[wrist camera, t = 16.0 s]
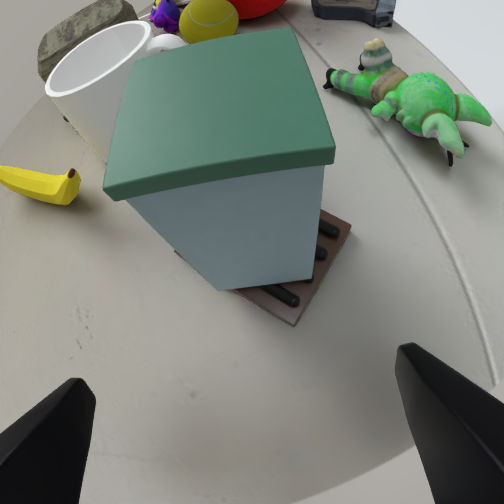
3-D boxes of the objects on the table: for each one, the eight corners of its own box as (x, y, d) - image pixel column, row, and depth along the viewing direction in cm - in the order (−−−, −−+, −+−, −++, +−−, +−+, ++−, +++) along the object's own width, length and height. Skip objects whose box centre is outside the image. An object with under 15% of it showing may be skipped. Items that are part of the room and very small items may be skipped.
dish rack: (350, 230, 22) (353, 219, 20) (294, 327, 20) (293, 324, 19) (236, 174, 25) (232, 161, 23) (178, 255, 23) (169, 246, 22)
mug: (87, 175, 28) (27, 111, 18) (114, 104, 31) (73, 41, 22) (205, 159, 26) (164, 67, 16) (218, 85, 29) (192, 3, 20)
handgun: (327, -13, 37) (397, 2, 34) (304, 17, 33) (391, 34, 30) (326, -24, 35) (399, -10, 31) (303, 2, 31) (393, 19, 28)
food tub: (315, 281, 19) (336, 146, 7) (214, 294, 20) (100, 189, 8) (300, 192, 22) (291, 26, 10) (210, 206, 22) (132, 60, 10)
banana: (17, 175, 31) (-14, 149, 25) (118, 194, 26) (81, 155, 20) (6, 195, 30) (-26, 170, 24) (105, 223, 26) (62, 188, 20)
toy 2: (314, 109, 29) (443, 194, 21) (304, 46, 22) (466, 124, 15) (376, 73, 30) (489, 139, 22) (374, 18, 24) (508, 80, 16)
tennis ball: (219, 65, 32) (237, 37, 35) (233, 21, 26) (252, -2, 28) (166, 49, 31) (189, 22, 33) (172, 5, 25) (198, -18, 27)
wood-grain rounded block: (169, 75, 32) (132, 18, 41) (143, 15, 23) (115, -20, 32) (65, 137, 31) (62, 59, 40) (24, 90, 23) (39, 25, 32)
